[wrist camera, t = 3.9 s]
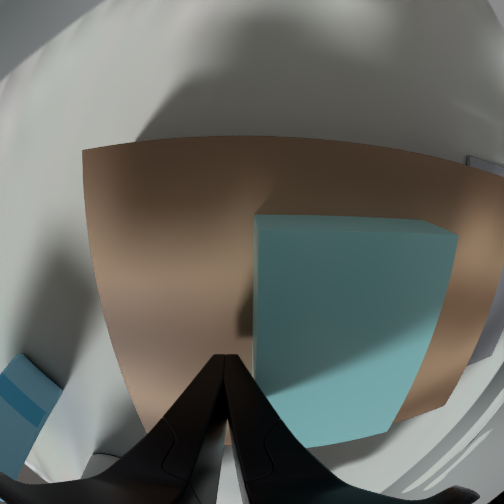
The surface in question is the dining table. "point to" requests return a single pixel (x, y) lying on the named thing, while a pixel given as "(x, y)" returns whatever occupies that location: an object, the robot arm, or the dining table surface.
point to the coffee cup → (98, 464)
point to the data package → (22, 411)
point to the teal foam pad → (344, 318)
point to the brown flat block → (242, 246)
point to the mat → (500, 311)
